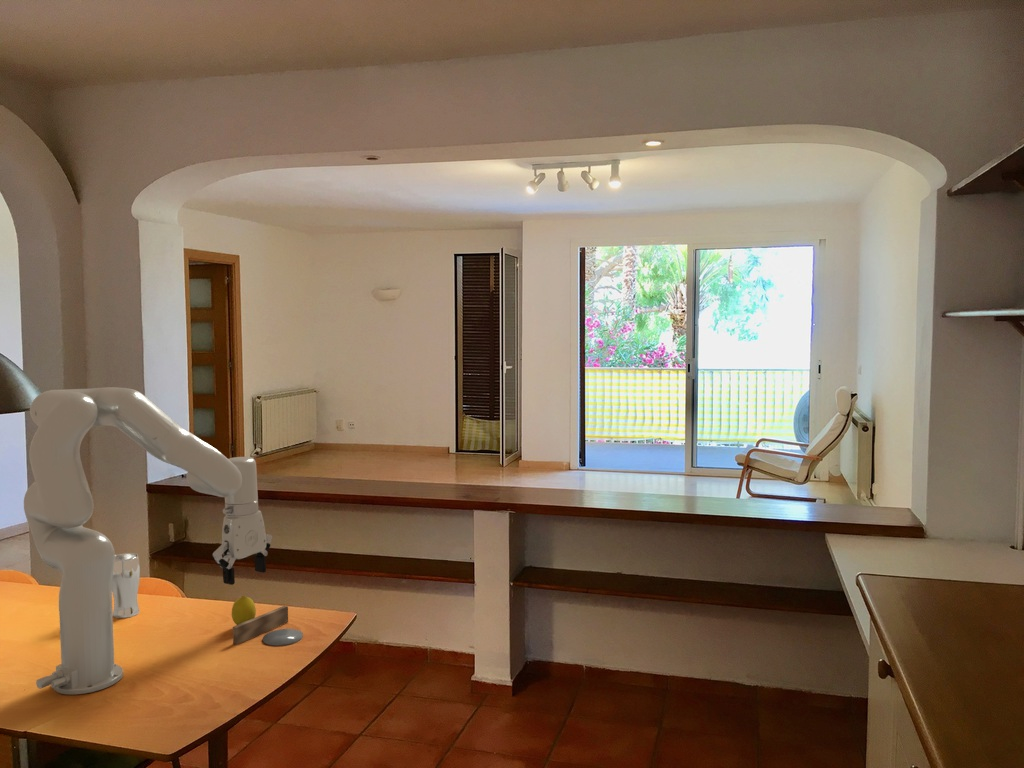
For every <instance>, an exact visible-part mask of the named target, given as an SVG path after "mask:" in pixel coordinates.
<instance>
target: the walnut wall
mask: <svg viewBox="0 0 1024 768" xmlns="http://www.w3.org/2000/svg"><path fill="white" fill-rule="evenodd" d="M286 622H288V623H289V606H288V605H282V606H280V607H278V608H275V609H274V610H270V611H268V612H266V613H263V614H261V615H259V616H255V618H253V619H251V620H248V621H246V622H243V623H241V624H239V625H236V624H235V625H234V626H233V627H232V643H233V645H236V646H237V645H239V644H242V643H244V642H247V641H249V640H251V639H253V638H255V637H258V636H260V635H263V634H264V633H265V634H266V633H268V632H269V631H273V630H274V629H277V628H278V626H279V627H280V625H281V626H283V625H285V624H287V623H286ZM284 623H285V624H284ZM282 624H283V625H282Z"/></svg>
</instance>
